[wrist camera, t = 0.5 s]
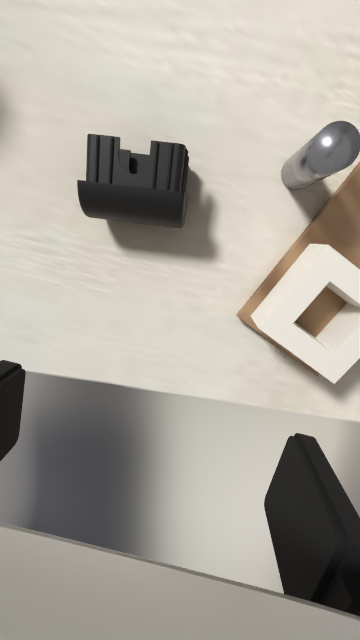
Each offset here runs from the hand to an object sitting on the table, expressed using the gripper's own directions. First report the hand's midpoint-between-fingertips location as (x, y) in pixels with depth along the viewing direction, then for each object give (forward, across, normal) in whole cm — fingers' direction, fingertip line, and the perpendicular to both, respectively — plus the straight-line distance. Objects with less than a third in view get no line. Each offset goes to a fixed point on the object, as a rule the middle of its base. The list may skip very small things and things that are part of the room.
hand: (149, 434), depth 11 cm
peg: (+28, -8, -15) cm, 33 cm away
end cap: (+28, +7, -10) cm, 30 cm away
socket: (+26, -14, -2) cm, 30 cm away
